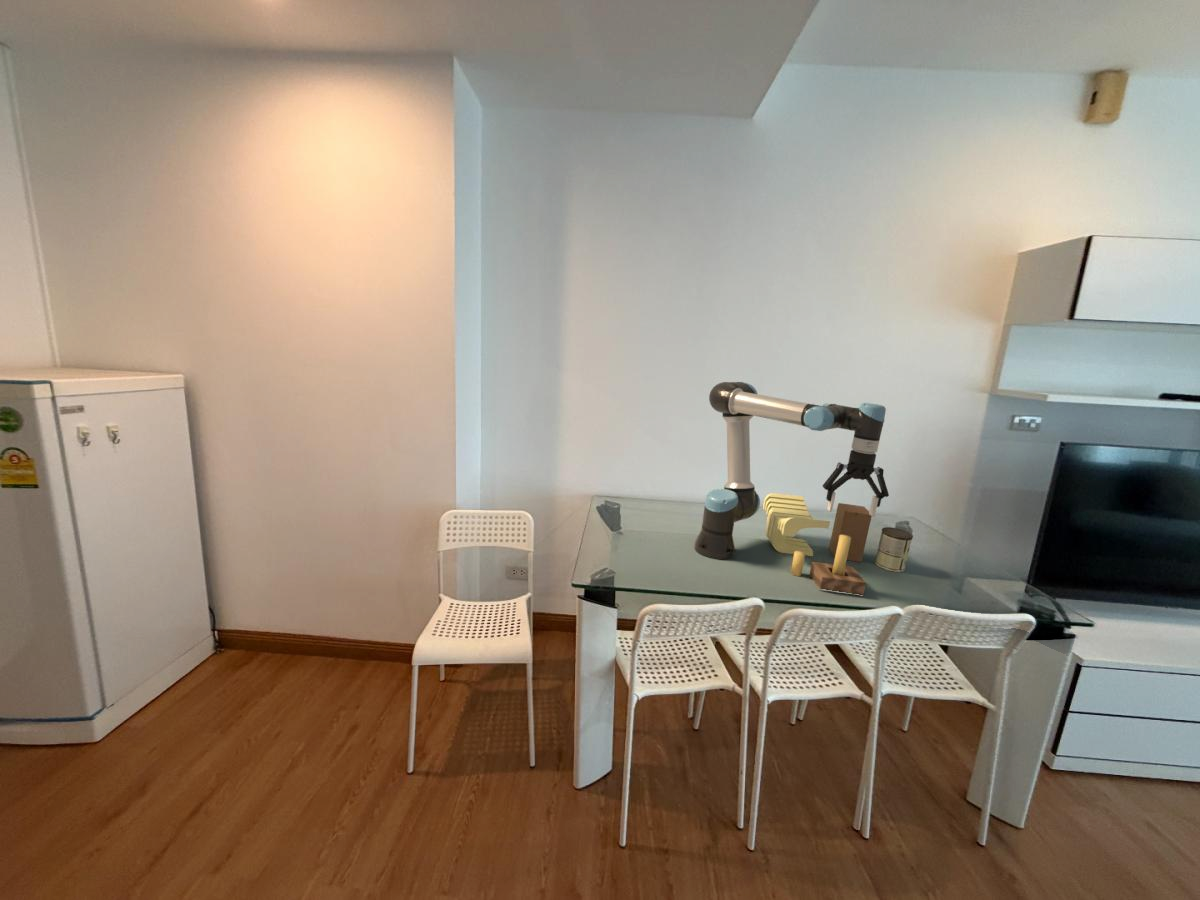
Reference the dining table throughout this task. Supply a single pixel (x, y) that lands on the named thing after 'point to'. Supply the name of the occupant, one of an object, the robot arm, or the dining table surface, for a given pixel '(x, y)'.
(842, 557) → the long pin
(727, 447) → the robot arm
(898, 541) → the coffee can
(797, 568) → the short pin
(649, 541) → the dining table surface
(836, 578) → the hole block
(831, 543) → the wooden block
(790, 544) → the slatted curved stool
